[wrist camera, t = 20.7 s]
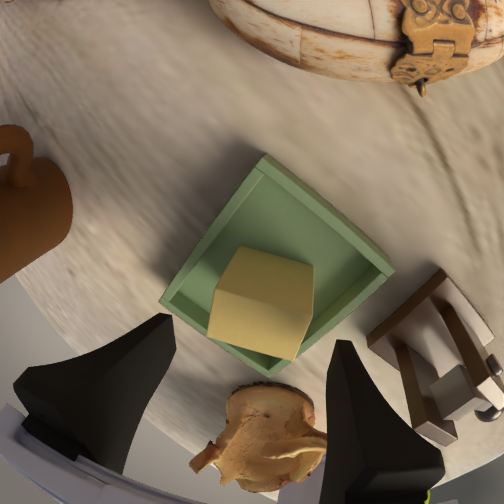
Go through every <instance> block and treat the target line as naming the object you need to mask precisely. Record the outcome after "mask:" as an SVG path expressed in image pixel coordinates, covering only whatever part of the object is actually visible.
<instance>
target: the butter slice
mask: <svg viewBox="0 0 504 504" xmlns="http://www.w3.org/2000/svg"><path fill="white" fill-rule="evenodd" d="M313 295H314V266H312V265H308V264H305V263H301V262H297V261H294V260H290V259H287V258H283V257H280V256H276V255H273V254H269V253H266V252H262V251H258V250H255V249H251V248H248V247H244V246H239V247H238V249H237V251H236V252H235V254H234V256H233V258H232V259H231V261H230V263H229V264H228V266H227V268H226V269H225V271H224V273H223V275H222V276H221V278H220V280H219V281H218V283H217V285H216V286H215V288H214V294H213V300H212V305H211V311H210V317H209V322H208V328H207V334H206V336H207V337H210V338H213V339H216V340H219V341H223V342H226V343H229V344H232V345H236V346H239V347H242V348H246V349H249V350H253V351H256V352H260V353H263V354H267V355H271V356H274V357H278V358H282V359H286V360H290V361H294V359H295V357H296V355H297V352H298V350H299V348H300V345H301V343H302V341H303V339H304V336H305V334H306V332H307V329H308V327H309V324H310V322H311V320H312V317H313Z"/></svg>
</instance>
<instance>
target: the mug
mask: <svg viewBox="0 0 504 504" xmlns="http://www.w3.org/2000/svg"><path fill="white" fill-rule="evenodd" d="M33 148H34V146H33V141H32V138H31V136H30V134H29V132H27V131H26V130H25V129H24V128H23V127H21V126H18V125H10V124H6V125H1V126H0V155H1V154H6V153H9V157H8V161H7V165H3V166H0V283H2V282H3V281H5V280H6V279H8V278H9V277H11V276H12V275H13V274H15V273H16V272H18V271H19V270H21V269H22V268H24V267H25V266H27V265H28V264H30V263H31V262H33V261H34V260H36V259H37V258H39V257H40V256H42V255H43V254H45V253H47V252H48V251H50V250H51V249H53V248H54V247H56V246H57V245H58V244H60V243H61V242H62V241H63V240H64V239H65V237H66V236H67V234H68V232H69V229H70V227H71V223H72V217H73V205H72V198H71V193H70V189H69V186H68V184H67V181H66V179H65V177H64V175H63V174H62V172H61V171H60V169H59V168H58V167H57V166H56V165H55V164H54V163H53V162H51V161H49V160H47V159H45V158H39V157H36V158H33Z"/></svg>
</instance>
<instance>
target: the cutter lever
mask: <svg viewBox="0 0 504 504" xmlns="http://www.w3.org/2000/svg"><path fill="white" fill-rule="evenodd" d="M429 388H430V390H431V392H432V395H433V397H434V399H435V402H436V404H437V406H438V409H439V411H440V414H441V416H442V419H443V420H455V421H458V420H459V419H461V418H462V417H464V416H465V415H467V414H468V413H469V412H471V411H472V410H474V412H475V415H476V417H477V418H478V419H479V420H480V421H483V422H491V421H494V420H496V419H497V418H498V417H499V416H500V415H501V414H502V413H503V411H504V407H503V408H502V409H500V410H499V411H498V410H497V409H496V408H495V407H494V406H493V405H492V404H491V403H490V402H489V401H488V400H487V399H486V398H485V397H484V396H483V395H482V394H481V393H480V392H479V391H478V390H477V389H476V388H475V387H474V384H473V382H472V379H471V377H470V375H469V372H468V370H467V369H466V368H464V367H463V366H461V365H459V364H458V365H456V366H455V367H454V368H453V369H451V370H450V371H449V372H448V373H446V374H445V375H444V376H442V377H441V378H440V379H438V380H437V381H436V382H434V383H433V384H432V385H430V386H429Z"/></svg>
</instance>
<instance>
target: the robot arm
mask: <svg viewBox="0 0 504 504" xmlns="http://www.w3.org/2000/svg"><path fill="white" fill-rule="evenodd" d="M175 351H176V342H175V335H174V327H173V320H172V315H169V314H164V313H158V314H157V315H155V316H153V317H152V318H150V319H149V320H147V321H145V322H144V323H142V324H141V325H139V326H138V327H136V328H134V329H133V330H131V331H130V332H128V333H126V334H125V335H123V336H121V337H119V338H118V339H116V340H114V341H112V342H110V343H109V344H107V345H105V346H103V347H101V348H98V349H96V350H94V351H92V352H89V353H87V354H84V355H81V356H78V357H75V358H72V359H69V360H65V361H62V362H57V363H53V364H48V365H41V366H34V367H28V368H27V369H26V370H25V371H24V372H23V373H22V374H21V376H20V377H19V378H18V379H17V380H16V381H15V382H14V383H13V388H14V391H15V393H16V395H17V396H18V398H19V399H20V401H21V402H22V404H23V405H24V407H25V408H26V410H27V411H28V413H29V415H28V416H27V417H25V416H24V415H23V414H22V413H21V412H19V411H18V410H16V409H15V408H14V407H13V406H11V405H10V404H8V403H6V405H5V406H4V407H3V409H1V411H0V457H2V459H3V460H5V461H6V462H7V463H8V464H9V465H10V466H11V467H12V468H14V469H15V470H16V471H17V472H18V473H20V474H21V475H22V476H24V477H25V478H26V479H27V480H29V481H30V482H32V484H34V485H35V486H37V487H38V488H39V489H41V490H42V491H43V492H45V493H46V494H48V495H49V496H51V497H52V498H54V499H55V500H56V501H58V502H59V503H61V504H206V503H202V502H198V501H194V500H191V499H187V498H184V497H181V496H177V495H174V494H171V493H168V492H165V491H162V490H159V489H156V488H153V487H150V486H148V485H145V484H142V483H140V482H137V481H135V480H132V479H130V478H127V477H125V476H123V475H122V473H123V469H124V465H125V462H126V459H127V455H128V452H129V449H130V446H131V443H132V440H133V437H134V435H135V432H136V430H137V427H138V424H139V422H140V420H141V417H142V415H143V413H144V410H145V408H146V406H147V404H148V402H149V401H150V399H151V397H152V396H153V394H154V392H155V390H156V389H157V387H158V385H159V384H160V382H161V380H162V379H163V377H164V375H165V373H166V372H167V370H168V368H169V366H170V364H171V361H172V359H173V357H174V354H175ZM326 413H327V449H326V454H325V455H323V457H322V460H321V462H320V463H319V464H318V466H317V467H316V468H315V469H314V470H313V472H312V473H311V476H310V477H309V476H308V477H307V478H306V479H305V480H304V481H302V482H300V483H295V482H290V483H289V484H287V485H285V486H284V487H282V488H280V490H279V496H278V501H277V504H425V501H426V500H427V499H428V492H427V491H428V490H429V489H430V488H432V487H433V486H434V485H435V484H437V483H438V482H439V481H440V480H441V479H442V478H443V476H444V475H445V466H444V461H443V457H442V454H441V451H440V450H439V449H438V448H436V447H435V446H433V445H432V444H431V443H429V442H428V441H426V440H425V439H424V438H422V437H421V436H420V435H419V434H418V433H416V432H415V431H414V430H413V429H412V428H411V427H410V426H409V425H408V424H407V423H406V422H405V421H404V420H403V419H402V418H401V417H400V416H399V415H398V414H397V413H396V412H395V411H394V410H393V409H392V407H391V406H390V405H389V404H388V402H387V401H386V400H385V399H384V397H383V396H382V394H381V393H380V392H379V390H378V388H377V387H376V385H375V384H374V382H373V381H372V379H371V377H370V376H369V374H368V372H367V371H366V369H365V367H364V365H363V363H362V362H361V360H360V358H359V356H358V354H357V352H356V350H355V348H354V345H353V343H352V342H351V341H349V340H338V339H337V340H336V343H335V347H334V351H333V354H332V358H331V361H330V365H329V368H328V371H327V381H326ZM437 504H458V500H456V499H455V500H451V501H446V502H441V503H437Z"/></svg>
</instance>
